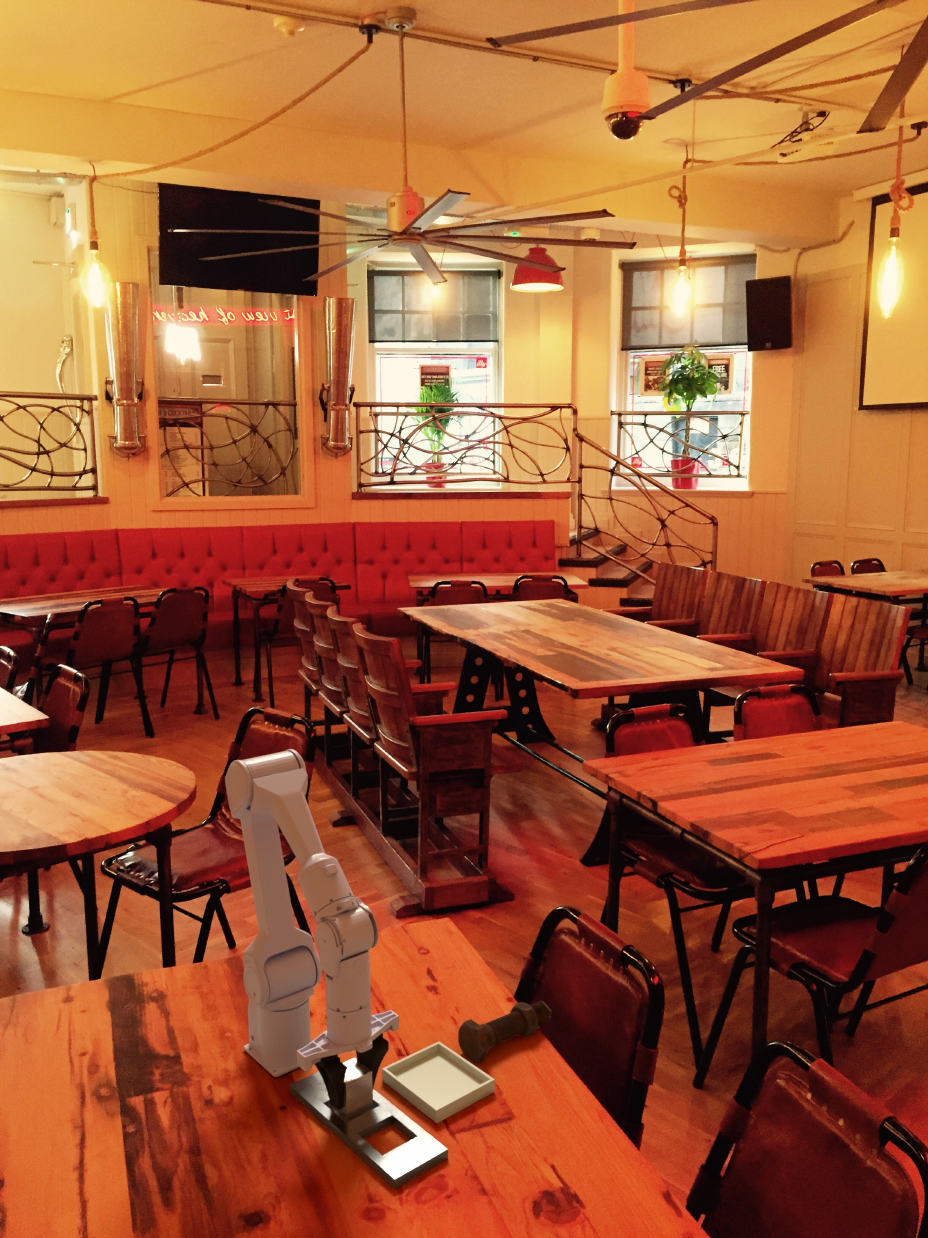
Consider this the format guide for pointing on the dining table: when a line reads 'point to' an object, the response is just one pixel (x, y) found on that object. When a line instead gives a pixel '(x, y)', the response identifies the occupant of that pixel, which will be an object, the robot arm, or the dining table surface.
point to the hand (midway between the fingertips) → (351, 1098)
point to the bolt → (501, 1029)
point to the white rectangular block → (356, 1091)
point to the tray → (438, 1081)
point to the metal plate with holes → (391, 1165)
